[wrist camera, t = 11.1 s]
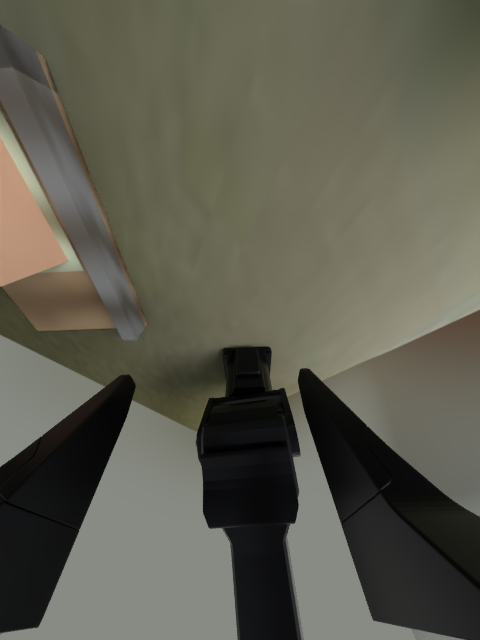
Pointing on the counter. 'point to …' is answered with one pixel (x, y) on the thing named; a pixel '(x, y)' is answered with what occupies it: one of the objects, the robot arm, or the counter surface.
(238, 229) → the counter surface
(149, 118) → the counter surface
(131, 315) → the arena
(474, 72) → the counter surface
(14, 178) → the terracotta block
